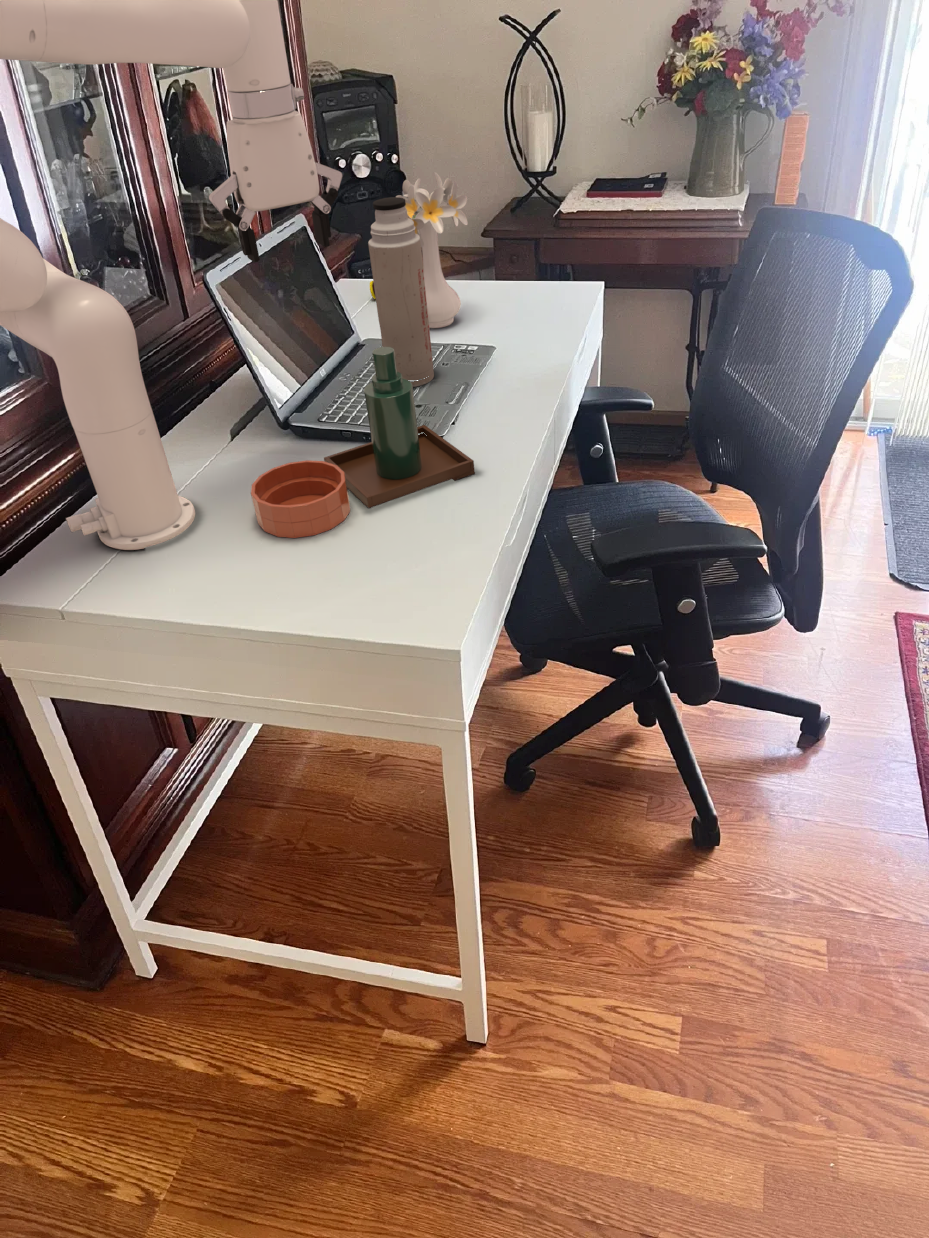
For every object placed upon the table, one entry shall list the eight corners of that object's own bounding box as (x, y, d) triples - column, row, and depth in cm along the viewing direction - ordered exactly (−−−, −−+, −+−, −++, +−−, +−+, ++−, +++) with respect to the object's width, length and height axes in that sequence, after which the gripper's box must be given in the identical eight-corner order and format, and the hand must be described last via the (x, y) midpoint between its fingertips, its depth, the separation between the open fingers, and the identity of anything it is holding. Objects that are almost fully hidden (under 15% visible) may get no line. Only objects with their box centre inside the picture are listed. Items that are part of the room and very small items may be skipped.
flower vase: (392, 342, 170) (373, 196, 155) (417, 306, 184) (402, 169, 169) (461, 343, 168) (449, 193, 152) (482, 306, 182) (473, 166, 167)
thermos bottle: (438, 368, 159) (421, 192, 142) (428, 388, 153) (408, 206, 136) (393, 368, 161) (371, 194, 144) (381, 387, 155) (356, 208, 138)
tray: (369, 511, 123) (366, 497, 122) (325, 470, 133) (323, 457, 132) (474, 473, 129) (473, 460, 128) (425, 437, 139) (424, 424, 138)
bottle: (388, 484, 127) (371, 364, 117) (368, 467, 132) (350, 350, 121) (430, 470, 130) (416, 351, 119) (408, 453, 134) (394, 337, 124)
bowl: (279, 551, 117) (271, 517, 114) (246, 512, 125) (238, 479, 122) (365, 520, 121) (360, 486, 118) (328, 484, 130) (322, 451, 127)
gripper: (318, 91, 118) (338, 233, 128) (183, 112, 112) (216, 259, 122) (341, 97, 113) (360, 245, 123) (200, 119, 107) (234, 273, 117)
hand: (288, 252), depth 123 cm, fingers open, 9 cm apart
